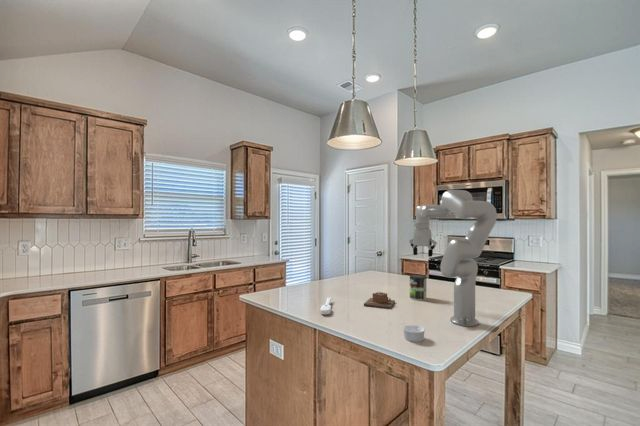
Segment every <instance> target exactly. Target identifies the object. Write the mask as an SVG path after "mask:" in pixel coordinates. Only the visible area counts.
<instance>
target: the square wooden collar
mask: <svg viewBox="0 0 640 426" xmlns="http://www.w3.org/2000/svg"><path fill="white" fill-rule="evenodd" d="M378 292H379V291H377V292H373V293H372V298H373V302H374V303H378V304H383V303H387V301H388V300H389V296H388V293H386V292H381V291H380V292H381V295H380V294H378Z"/></svg>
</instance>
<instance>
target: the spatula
mask: <svg viewBox="0 0 640 426" xmlns="http://www.w3.org/2000/svg"><path fill="white" fill-rule="evenodd" d="M332 299H333V298H332V297H331V296H330V297H329V296H328V297H326V301H325V303H324V304H322V305H321V307H320V308H319V312H320V314H321V315H323V316H324V315H325V316H327V315H330V314H331V313H332V305H330V303H331V300H332Z"/></svg>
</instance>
